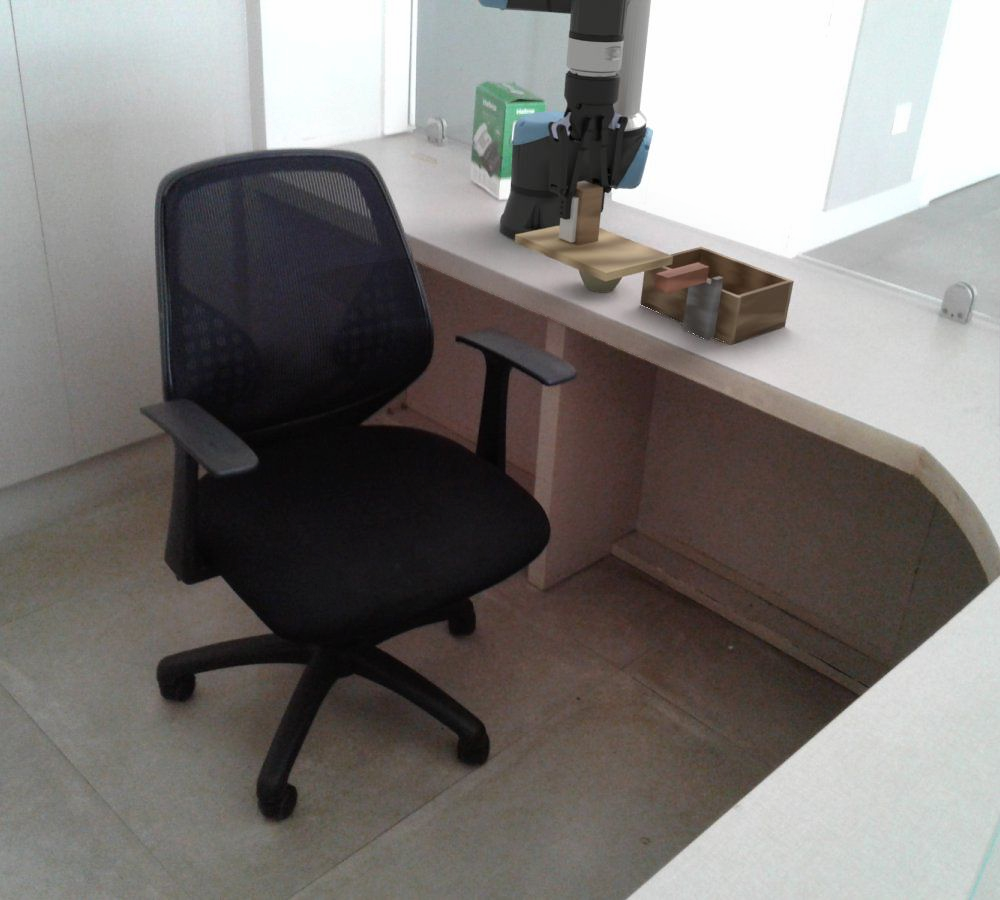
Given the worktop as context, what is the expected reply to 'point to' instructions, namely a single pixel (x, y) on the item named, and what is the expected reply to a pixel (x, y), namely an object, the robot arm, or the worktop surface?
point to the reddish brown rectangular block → (681, 277)
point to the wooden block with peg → (594, 243)
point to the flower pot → (598, 283)
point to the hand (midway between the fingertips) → (578, 236)
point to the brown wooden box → (722, 298)
